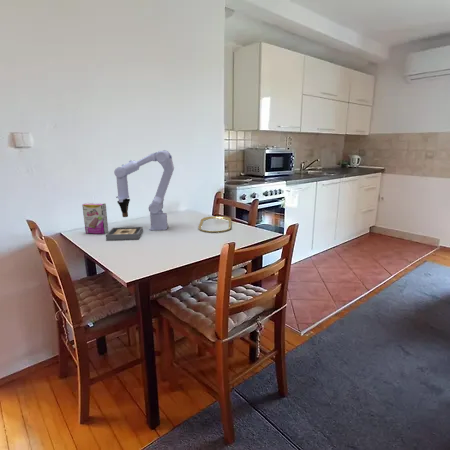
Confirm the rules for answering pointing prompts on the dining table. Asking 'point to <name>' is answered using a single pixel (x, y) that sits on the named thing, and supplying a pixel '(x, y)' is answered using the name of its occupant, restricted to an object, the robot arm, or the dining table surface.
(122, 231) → the oak hole plate
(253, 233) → the dining table surface
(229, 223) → the gold wire ring
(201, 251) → the dining table surface
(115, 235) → the charcoal tray
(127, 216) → the walnut peg
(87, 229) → the candy bar box
